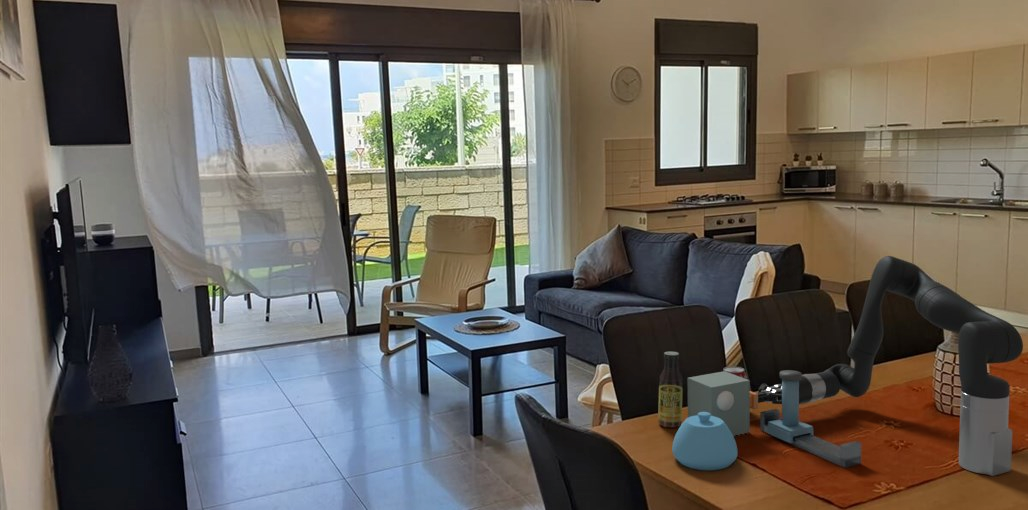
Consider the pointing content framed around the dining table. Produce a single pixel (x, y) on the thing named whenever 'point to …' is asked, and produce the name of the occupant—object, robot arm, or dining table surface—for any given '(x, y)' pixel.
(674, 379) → the sauce bottle
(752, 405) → the plunger
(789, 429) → the carriage
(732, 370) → the soda can
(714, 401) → the cabinet
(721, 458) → the sugar bowl
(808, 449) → the rail
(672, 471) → the dining table surface
